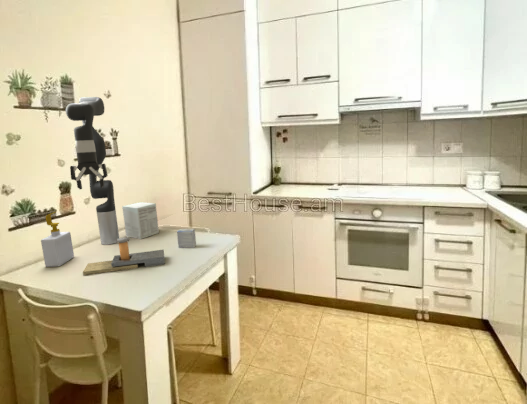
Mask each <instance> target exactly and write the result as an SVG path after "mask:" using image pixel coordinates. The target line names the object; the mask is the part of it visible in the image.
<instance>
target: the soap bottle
mask: <svg viewBox="0 0 527 404" xmlns="http://www.w3.org/2000/svg"><path fill="white" fill-rule="evenodd" d="M55 213H56V211H53V212H52V213H49V214H46V215H45V223H46V225H47V226H50V228H52V229H50V235H48V236H47V237H44V238H42V239H41V240H40V242H41V250H42V255H43V260H44V261H43V262H44V266H45V267H48V268H49V267H50V268H51V267H52V268H53V267H60V266H62V265H64V264H66V263H67V262H69V261H70V260H71V259H74V257H75V253H74V248H73V242H72V235H71V232H70V231H60V228H58V226H59V224H60V222H53V221H52V214H55Z"/></svg>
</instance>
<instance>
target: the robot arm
mask: <svg viewBox="0 0 527 404" xmlns="http://www.w3.org/2000/svg"><path fill="white" fill-rule="evenodd" d="M65 114H66V117H67V118H68V119H69V120H71V121H73V122H79V121H81V123H82V125H80V126H76V127H74V129H73V133H74V134H73V135H74V141H75V144H74V145H75V152H76V159H77V165H70V167H69V168H70V169H69V170H70V180H73V181H76V187H77V189H79V190H82V189H83V185H82V180H81V179H82V177H83V176H87V175H89V176H88V179H89V191H90V192H89V193H90V196H91V197H92V199H93V200H94V199H95V200H97V199H98V200H99V199H107V200H106V201H105V202H102V203H101V204H98V205H97V206H96V208H95V212H96V217H97V225H98V230H99V231H98V232H99V239H100V244H101V245H113V244H117V239H119V238H120V234H119V233H120V232H119V226H118V218H117V209H116V203H115V191H114V184H113V182H112V180H111V179H106V180H105V178H108V176H109V175H108V171H107V165H106V163H104V161H105V160H106V156H107V150H106V149H107V147H106V143H105V140H104V138H103V137H102V136H101V135H100V134H99V132H98V131H97V130H96V128H95V127H94V126H93V125H94V123H93V122H94V118H95V117H100V116H102V115H104V114H105V103H104V101H103V99H102V98H101V97H98V96H82V97H80V98H79V99H78V103H73V102H72V103H69V104H67V106H66V107H65ZM77 169H78V170H79V173H78V174H77V176H76V170H77ZM100 170H102V174H103V175H102V174H101V172H100ZM98 178H99V180H97V179H98Z"/></svg>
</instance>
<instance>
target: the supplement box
mask: <svg viewBox="0 0 527 404" xmlns="http://www.w3.org/2000/svg"><path fill="white" fill-rule="evenodd" d="M121 208H122V214H123V215H122V216H123V223H124V230H125V237H127V238H135V239H139V240H140V239H145V238H147V237H150V236H154V235H157V234H159V233H160V231H159V222H158V214H157V213H158V212H157V211H158V210H157V204H156V203H154V202H145V201H143V202H142V201H141V202H135V203H132V204H126V205H122V207H121Z"/></svg>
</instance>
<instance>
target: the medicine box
mask: <svg viewBox="0 0 527 404" xmlns="http://www.w3.org/2000/svg"><path fill="white" fill-rule="evenodd" d="M176 236H177V244H178V246H177V247H178V249H184V248H185V249H186V248H188V249H189V248H193V249H194V248H195V247H196V245H197V240H196V239H197V238H196V229H195V228H180V229H178V230H177V231H176Z"/></svg>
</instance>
